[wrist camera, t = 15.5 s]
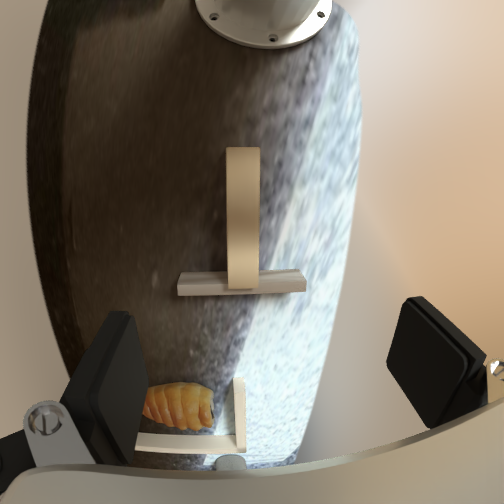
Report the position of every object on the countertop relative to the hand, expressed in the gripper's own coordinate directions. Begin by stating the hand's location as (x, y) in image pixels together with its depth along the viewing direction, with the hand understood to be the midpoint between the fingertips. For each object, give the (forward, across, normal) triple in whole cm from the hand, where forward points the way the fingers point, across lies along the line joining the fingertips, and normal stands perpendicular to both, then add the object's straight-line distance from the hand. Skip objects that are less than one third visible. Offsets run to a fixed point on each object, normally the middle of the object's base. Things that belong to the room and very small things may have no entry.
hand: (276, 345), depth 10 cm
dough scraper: (+18, 0, -1) cm, 18 cm away
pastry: (+18, +7, +22) cm, 29 cm away
